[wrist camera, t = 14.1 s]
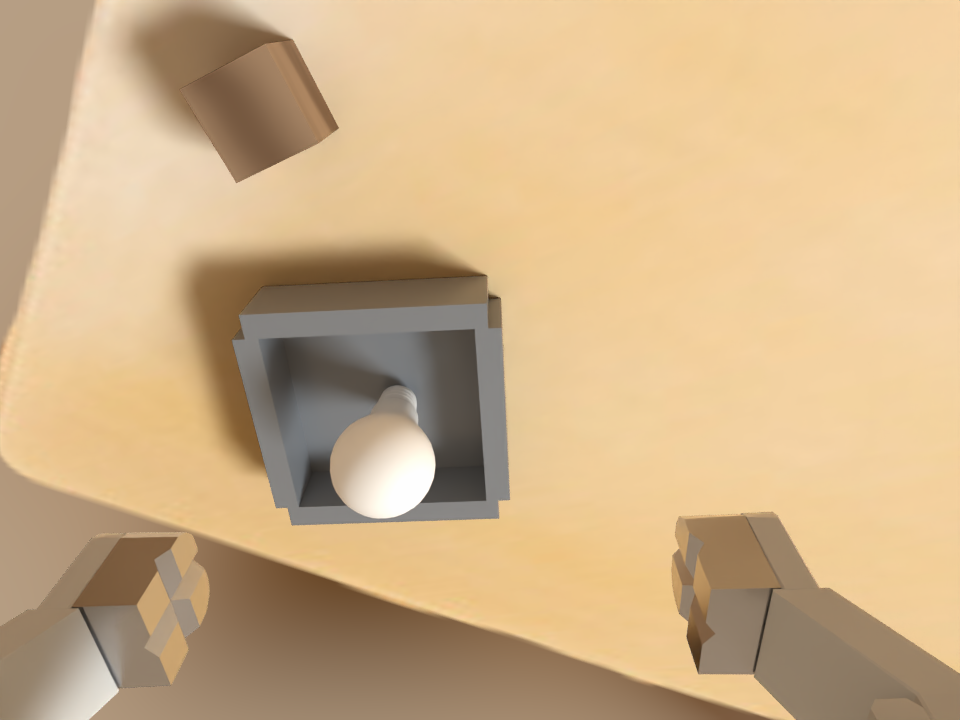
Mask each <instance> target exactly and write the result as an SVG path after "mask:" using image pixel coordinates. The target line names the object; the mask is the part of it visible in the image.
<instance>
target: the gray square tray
mask: <svg viewBox="0 0 960 720" xmlns="http://www.w3.org/2000/svg"><path fill="white" fill-rule="evenodd" d="M239 319H240V323H241V327H242V328H241V329H240V330H239V332H238V333H237V334H236V335H235V337H234V338H233V339H232V343H233V347H234V351H235V355H236V358H237V362H238V366H239V370H240V373H241V377H242V381H243V385H244V389H245V392H246V396H247V400H248V404H249V408H250V411H251V415H252V419H253V423H254V426H255V430H256V434H257V438H258V442H259V445H260V449H261V453H262V457H263V460H264V464H265V468H266V472H267V476H268V479H269V483H270V487H271V491H272V494H273V498H274V502H275V506H276V508H288V512H289V516H290V520H291V523H292V525H316V524H346V523H376V522H407V521H437V520H467V519H497V518H499V500H510V490H509V462H508V440H507V419H506V397H505V376H504V354H503V333H502V311H501V298H496V299H489V297H488V279H487V276H471V277H450V278H430V279H409V280H389V281H368V282H348V283H328V284H307V285H287V286H266V287H262V288H261V289H260V290H259V291H258V293H257V294H256V295H255V296H254V297H253V299H252V300H251V301H250V302H249V303H248V305H247V306H246V307H245V308H244V309H243V310H242V312H241V313H240V314H239ZM395 385H400V386H404V387H407V388H409V389H410V390H411V391H412V392H413V393H414V394H415V396H416V400H417V408H416V412H417V414H418V426H419V427H420V428H421V429H422V430H423V432H424V433H425V434H426V436H427V437H428V439H429V441H430V442H431V445H432V448H433V451H434V456H435V464H436V465H435V473H434V479H433V482H432V484H431V486H430V489H429V491H428V492H427V494H426V495H425V497H424V498H423V499H422V500H421V502H420V503H419V504H418V505H416V506H415V507H414V508H413V509H411V510H409V511H408V512H406V513H404V514H402V515H399V516H396V517H391V518H380V519H378V518H370V517H367V516H364V515H361V514H359V513H357V512H355V511H354V510H352V509H351V508H349V507H348V506H347V505H346V504H345V503H344V502H343V501H342V500H341V498H340V497H339V495H338V494H337V493H336V491H335V489H334V486H333V484H332V479H331V474H330V457H331V454H332V451H333V448H334V445H335V443H336V441H337V439H338V438H339V436H340V435H341V434H342V433H343V432H344V430H345V429H346V428H347V427H348V426H349V425H351V424H352V423H354V422H355V421H357V420H359V419H361V418H363V417H365V416H367V415H370V413H371V411H372V409H373V407H374V406H375V405H376V404H377V403H378V401H379V398H380V397H381V394H382V393H383V391H384V390H385V389H387V388H388V387H391V386H395Z"/></svg>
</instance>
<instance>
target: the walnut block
mask: <svg viewBox="0 0 960 720" xmlns="http://www.w3.org/2000/svg"><path fill="white" fill-rule="evenodd" d="M179 90H180V91H181V93H182V95H183V96H184V98H185V100H186V101H187V103H188V104H189V106H190V108H191V109H192V111H193V113H194V114H195V116H196V118H197V119H198V121H199V122H200V124H201V126H202V127H203V129H204V131H205V132H206V134H207V136H208V137H209V139H210V140H211V142H212V144H213V145H214V147H215V149H216V150H217V152H218V154H219V155H220V157H221V158H222V160H223V162H224V163H225V165H226V167H227V168H228V170H229V172H230V173H231V175H232V176H233V178H234V180H235V181H236V183H238V182H240V181H242V180H244V179H246V178H248V177H250V176H252V175H254V174H256V173H258V172H260V171H262V170H264V169H267V168H269V167H271V166H273V165H275V164H277V163H279V162H281V161H283V160H285V159H287V158H289V157H291V156H293V155H295V154H297V153H299V152H301V151H303V150H306V149H308V148H310V147H312V146H314V145H316V144H318V143H319V142H321V141H322V140H323V139H325V138H326V137H327V136H329V135H330V134H331V133H333V132H334V131H336V130H337V129H338V128H339V127H338V126H337V124H336V122H335V120H334V118H333V116H332V114H331V112H330V110H329V108H328V106H327V104H326V102H325V101H324V99H323V97H322V95H321V93H320V91H319V89H318V87H317V85H316V83H315V81H314V79H313V77H312V75H311V74H310V72H309V70H308V68H307V66H306V64H305V62H304V60H303V58H302V56H301V54H300V52H299V50H298V49H297V47H296V45H295V43H294V41H293V40H288V41H281V42H274V43H267V44H264V45H262V46H260V47H258V48H256V49H254V50H252V51H250V52H249V53H247V54H245V55H243V56H241V57H239V58H237V59H235V60H234V61H232V62H230V63H228V64H226V65H224V66H222V67H220V68H219V69H217V70H215V71H213V72H211V73H209V74H207V75H205V76H204V77H202V78H200V79H198V80H196V81H194V82H192V83H190V84H189V85H187V86H185V87H183V88H181V89H179Z"/></svg>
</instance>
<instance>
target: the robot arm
mask: <svg viewBox="0 0 960 720" xmlns="http://www.w3.org/2000/svg"><path fill="white" fill-rule="evenodd" d="M675 537H676V539H677V542H678V545H679V548H680V549H678V550H677V551H676V552H675V553H674V554H673V558H672V586H673V592H674V597H675V601H676V605H677V608H678V612H679V614H680V615H681V616H682V617H684V618H685V619H686V620H687V621H688V629H687V641H688V644H689V647H690V650H691V653H692V656H693V659H694V662H695V665H696V669H697V672H698V674H755V675H754V678H755V679H756V680H757V681H758V682H759V683H760V684H761V685H762V686H763V687H764V688H765V689H766V690H767V691H768V692H769V693H770V694H771V695H772V696H773V697H774V698H775V699H776V700H777V701H778V702H779V703H780V704H781V705H782V706H783V707H784V708H785V709H786V710H787V711H788V712H789V713H790V714H791V715H792V716H793V717H794V718H795V719H796V720H960V674H959V673H958V672H956V671H955V670H953V669H952V668H950V667H949V666H947V665H946V664H944V663H943V662H941V661H940V660H938V659H937V658H935V657H934V656H932V655H931V654H929V653H928V652H926V651H924V650H923V649H921V648H920V647H918V646H917V645H915V644H914V643H912V642H911V641H909V640H908V639H906V638H905V637H903V636H902V635H900V634H899V633H897V632H896V631H894V630H893V629H891V628H890V627H888V626H887V625H885V624H883V623H882V622H880V621H879V620H877V619H876V618H874V617H873V616H871V615H870V614H868V613H867V612H865V611H864V610H862V609H861V608H859V607H858V606H856V605H855V604H853V603H852V602H850V601H849V600H847V599H846V598H844V597H842V596H841V595H839V594H838V593H836V592H835V591H833V590H832V589H830V588H819V586H818V584H817V582H816V581H815V579H814V577H813V576H812V574H811V572H810V570H809V569H808V567H807V565H806V563H805V562H804V560H803V558H802V557H801V555H800V553H799V551H798V550H797V548H796V546H795V545H794V543H793V541H792V539H791V538H790V536H789V534H788V532H787V531H786V529H785V527H784V526H783V524H782V522H781V520H780V519H779V517H778V516H777V515H776V514H775V513H773V512H761V513H741V514H726V515H701V516H679V518H678V520H677V523H676V530H675ZM197 551H198V548H197V545H196V543H195V540H194V538H193V535H191V534H188V533H186V532H158V533H156V532H155V533H128V534H126V533H123V534H122V533H121V534H120V533H118V534H117V533H109V534H107V533H102V534H99V535H97V536H95V537H93V538H91V540H90V541H89V542H88V543H87V545H86V546H85V547H84V549H83V550H82V551H81V553H80V554H79V555H78V556H77V558H76V559H75V560H74V562H73V563H72V564H71V565H70V567H69V568H68V569H67V571H66V572H65V573H64V574H63V576H62V577H61V578H60V580H59V581H58V583H57V584H56V585H55V586H54V587H53V589H52V590H51V591H50V593H49V594H48V596H47V597H46V598H45V599H44V600H43V602H42V603H41V604H40V606H39V607H38V608H37V609H36V610H26V611H24V612H23V613H21V614H20V615H18V616H16V617H15V618H13V619H12V620H10V621H8V622H7V623H5V624H4V625H2V626H0V720H89V719H90V718H91V717H92V716H93V715H94V714H95V713H96V712H97V711H99V709H101V708H102V706H104V705H105V704H106V703H107V702H108V701H109V700H110V699H111V698H112V697H113V696H114V695H115V694H117V693H118V692H119V690H118V688H135V687H155V686H171V685H172V683H173V681H174V679H175V677H176V675H177V673H178V671H179V669H180V666H181V664H182V662H183V660H184V658H185V656H186V654H187V652H188V650H189V649H188V646H187V643H186V639H185V638H186V637H187V636H188V635H189V634H191V633H192V632H193V631H194V630H196V629H197V628H198V627H199V626H200V625H201V622H202V620H203V618H204V616H205V613H206V611H207V606H208V600H209V595H210V591H209V580H208V577H207V574H206V571H205V569H204V568H203V567H202V566H200V565H199V564H198V563H197V562H195V561H194V560H193V558H194V556H195V554H196V553H197Z"/></svg>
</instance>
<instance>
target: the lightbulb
mask: <svg viewBox="0 0 960 720" xmlns="http://www.w3.org/2000/svg"><path fill="white" fill-rule="evenodd" d="M416 408H417V400H416V396H415V394H414V393H413V392H412V391H411V390H410V389H409V388H407V387H404V386H400V385H395V386H391V387H388V388H387V389H385V390H384V391H383V393H382V394H381V397H380V398H379V401H378V403H377V404H376V405H375V406H374V407H373V409H372V411H371V413H370V415H367V416H365V417H363V418H361V419H359V420H357V421H355V422H354V423H352V424H351V425H349V426H348V427H347V428H346V429H345V430H344V432H343V433H342V434H341V435H340V436H339V438H338V439H337V441H336V443H335V445H334V448H333V451H332V454H331V457H330V474H331V479H332V484H333V486H334V489H335V491H336V493H337V494H338V495H339V497H340V498H341V500H342V501H343V502H344V503H345V504H346V505H347V506H348V507H349V508H351V509H352V510H354V511H355V512H357V513H359V514H361V515H364V516H367V517H370V518H378V519H380V518H391V517H396V516H399V515H402V514H404V513H406V512H408V511H409V510H411V509H413V508H414V507H415V506H416V505H418V504H419V503H420V502H421V500H422V499H423V498H424V497H425V495H426V494H427V492H428V491H429V489H430V486H431V484H432V482H433V479H434V473H435V465H436V464H435V456H434V451H433V448H432V445H431V442H430V441H429V439H428V437H427V436H426V434H425V433H424V432H423V430H422V429H421V428H420V427H419V426H418V414H417V412H416Z"/></svg>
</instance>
